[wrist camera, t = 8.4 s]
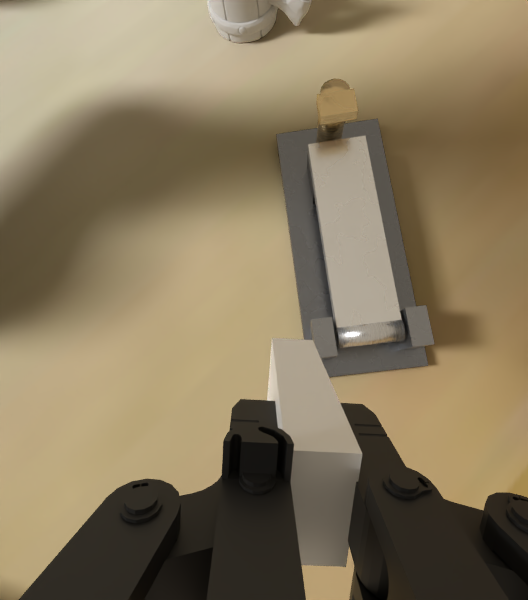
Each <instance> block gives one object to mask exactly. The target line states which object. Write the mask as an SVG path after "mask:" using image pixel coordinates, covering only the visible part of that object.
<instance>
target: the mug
mask: <svg viewBox="0 0 528 600" xmlns="http://www.w3.org/2000/svg"><path fill="white" fill-rule="evenodd" d="M311 2H312V0H208V11H209V15H210V18H211V20H212V22H213V23H214V25H215V27H216V29H217V31H218V32H219V34H220V35H221V36H222V37H224V38H225V39H227V40H229V41H230V40H231V41H232V42H236V43H244V42H252V41H256V40H258V39H260V38H261V37H263V36H265V35H266V34H267V33H268V32H269V31H270V30H271V29H272V27H273V25H274V23H275V21H276V15H277V10H278V8H279V9H280V10H282V11H283V12H284V13H285V14H286V15H287V16H288V18H289V19H290V21H291V22H292V23H293V24H294V25H295V26H299V24H300V22H301V20H302V18H303V17H304V16H305V15H306V14H307V12H308V10H309V8H310V6H311Z"/></svg>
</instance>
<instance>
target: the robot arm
mask: <svg viewBox="0 0 528 600" xmlns="http://www.w3.org/2000/svg"><path fill="white" fill-rule="evenodd" d="M349 547H350V550H351V554H352V558H353V561H354V565H355V566H354V573H353V580H352V586H351V593H350V599H349V600H528V498H527V497H524V496H521V495H517V494H512V493H495V494H492V495H490V496H488V498H487V501H486V503H485V507H484V511H483V510H479V509H476V508H472V507H468V506H465V505H461V504H457V503H454V502H451V501H448V500H445V499H443V497H442V496H441V494H440V493H439V491H438V490H437V488H436V487H435V486H434V485H433V484H432V483H431V481H430V480H429V479H428V478H426V477H425V476H423V475H422V474H420V473H419V472H417V471H415V470H412V469H410V468H407V467H406V466H405V464H404V463H403V461H402V459H401V458H400V456H399V454H398V452H397V451H396V449H395V447H394V446H393V444H392V442H391V440H390V439H389V437H387V434H386V432H385V430H384V429H383V427H382V425H381V423H380V422H379V420H378V418H377V417H376V415H375V414H374V413H373V412H372V411H371V410H369V409H368V408H367V407H365V406H364V405H363V404H349V403H340V401H339V399H338V397H337V394H336V392H335V390H334V388H333V385H332V383H331V381H330V378H329V376H328V374H327V372H326V369H325V367H324V365H323V362H322V360H321V358H320V356H319V353H318V351H317V349H316V346H315V344H314V342H313V340H300V339H283V338H272V344H271V358H270V371H269V384H268V397H267V401H265V400H246V399H240V401H239V402H238V403H237V404H236V405H235V406H234V407H233V408H232V415H231V423H230V431H229V432H228V433H227V435H226V437H225V439H224V442H223V463H222V476H221V477H220V479H219V480H218V481H217V482H215V483H214V484H213V485H212V486H210V487H208V488H206V489H204V490H202V491H199V492H195V493H192V494H187V495H182V496H179V492H178V491H177V490H176V489H175V488H174V487H173V486H172V485H171V484H169V483H166V482H164V481H162V480H155V479H143V480H138V481H132V482H130V483H128V484H126V485H123V486H121V487H119V488H117V489H116V490H115V491H114V492H113V493H112V494H110V495H109V496H108V497H107V498H106V499H105V500H104V501H103V503H102V504H101V505H100V506H99V507H98V508H97V510H96V511H95V512H94V513H93V514H92V515H91V516H90V518H89V519H88V520H87V521H86V522H85V523H84V525H83V526H82V527H81V528H80V529H79V530H78V532H77V533H76V534H75V535H74V536H73V537H72V539H71V540H70V541H69V542H68V543H67V544H66V545H65V547H64V548H63V549H62V550H61V551H60V552H59V554H58V555H57V556H56V557H55V558H54V559H53V561H52V562H51V563H50V564H49V565H48V566H47V568H46V569H45V570H44V571H43V572H42V573H41V574H40V576H39V577H38V578H37V579H36V580H35V581H34V583H33V584H32V585H31V586H30V587H29V588H28V590H27V591H26V592H25V593H24V594H23V595H22V597H21V598H20V599H19V600H306V597H305V590H304V582H303V574H302V567H301V565H314V566H342V567H346V563H347V556H348V549H349Z"/></svg>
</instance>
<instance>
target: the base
mask: <svg viewBox="0 0 528 600" xmlns="http://www.w3.org/2000/svg"><path fill="white" fill-rule="evenodd" d="M316 104H317V110H318V116H319V117H318V128H314V129H308V130H301V131H295V132H288V133H282V134H276V136H277V145H278V152H279V160H280V167H281V174H282V182H283V189H284V196H285V204H286V211H287V218H288V226H289V233H290V240H291V248H292V255H293V263H294V270H295V277H296V285H297V292H298V299H299V307H300V314H301V321H302V329H303V336H304V340H313V342H314V344H315V346H316V349H317V351H318V353H319V356H320V358H321V360H322V362H323V365H324V367H325V369H326V372H327V374H328V376H329V377H333V376H341V375H350V374H359V373H367V372H376V371H385V370H393V369H402V368H411V367H419V366H428V361H427V356H426V352H425V346H429V345H433V344H434V339H433V335H432V330H431V325H430V320H429V316H428V311H427V306H426V305H423V306H416V303H415V298H414V293H413V288H412V283H411V279H410V274H409V269H408V264H407V259H406V254H405V249H404V245H403V240H402V235H401V230H400V225H399V220H398V215H397V211H396V206H395V201H394V196H393V191H392V186H391V181H390V176H389V172H388V167H387V162H386V157H385V152H384V147H383V142H382V138H381V133H380V128H379V123H378V119H372V120H366V121H359V122H353V123H346V124H345V121H348V120H355V119H356V118H357V114H358V107H357V102H356V96H355V91H354V89H350V87H349V85H348V84H347V83H346V82H345V81H343V80H341V79H331V80H329V81H327V82H325V83H324V84H323V86H322V88H321V93H320V94H317V102H316ZM359 136H366V141H367V146H368V151H369V156H370V162H371V167H372V172H373V177H374V182H375V187H376V192H377V197H378V202H379V207H380V212H381V217H382V222H383V227H384V233H385V238H386V243H387V248H388V253H389V258H390V263H391V268H392V273H393V278H394V283H395V288H396V293H397V298H398V303H399V309H400V314H401V319H402V321H403V324H404V328H405V339H404V341H396V342H388V343H380V344H371V345H363V346H354V347H346V348H338V345H337V340H336V333H335V325H334V318H333V312H332V305H331V299H330V293H329V286H328V280H327V273H326V267H325V261H324V254H323V248H322V241H321V235H320V229H319V222H318V216H317V209H316V203H315V196H314V190H313V184H312V177H311V171H310V164H309V158H308V144H313V143H319V142H326V141H332V140H339V139H346V138H352V137H359Z"/></svg>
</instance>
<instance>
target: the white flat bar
mask: <svg viewBox="0 0 528 600" xmlns="http://www.w3.org/2000/svg"><path fill="white" fill-rule="evenodd" d="M308 158H309V164H310V171H311V177H312V184H313V190H314V196H315V203H316V209H317V216H318V222H319V229H320V235H321V241H322V248H323V254H324V261H325V267H326V273H327V280H328V286H329V293H330V299H331V305H332V312H333V318H334V325H335V333H336V340H337V345H338V348H346V347H354V346H363V345H371V344H380V343H388V342H396V341H404V339H405V328H404V324H403V321H402V319H401V314H400V309H399V303H398V298H397V293H396V288H395V283H394V278H393V273H392V268H391V263H390V258H389V253H388V248H387V243H386V238H385V233H384V227H383V222H382V217H381V212H380V207H379V202H378V197H377V192H376V187H375V182H374V177H373V172H372V167H371V162H370V156H369V151H368V146H367V141H366V136H359V137H352V138H346V139H339V140H332V141H326V142H319V143H313V144H308Z"/></svg>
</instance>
